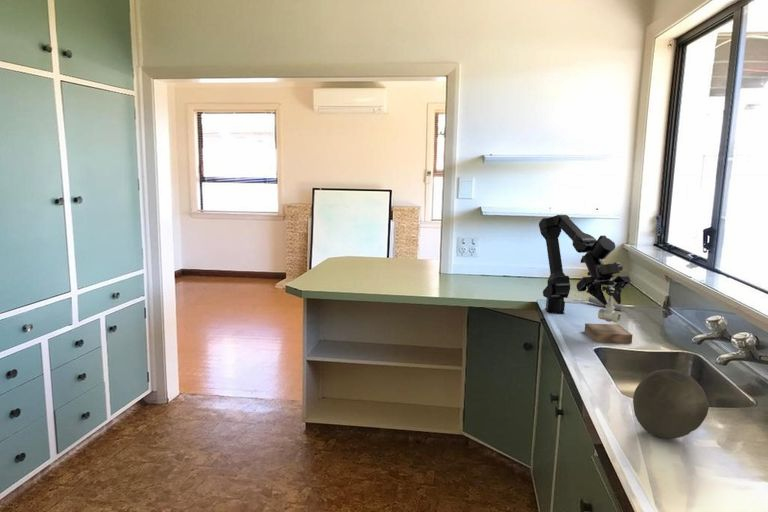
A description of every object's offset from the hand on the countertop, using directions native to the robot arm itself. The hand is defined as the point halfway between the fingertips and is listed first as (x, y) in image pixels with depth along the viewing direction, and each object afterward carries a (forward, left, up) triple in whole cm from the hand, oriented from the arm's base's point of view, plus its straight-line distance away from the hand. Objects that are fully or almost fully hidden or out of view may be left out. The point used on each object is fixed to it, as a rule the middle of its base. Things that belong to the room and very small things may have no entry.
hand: (612, 304), depth 185 cm
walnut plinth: (0, +1, -12) cm, 12 cm away
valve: (0, +1, -7) cm, 7 cm away
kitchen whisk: (+9, +50, -13) cm, 52 cm away
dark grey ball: (-13, -70, -12) cm, 72 cm away
